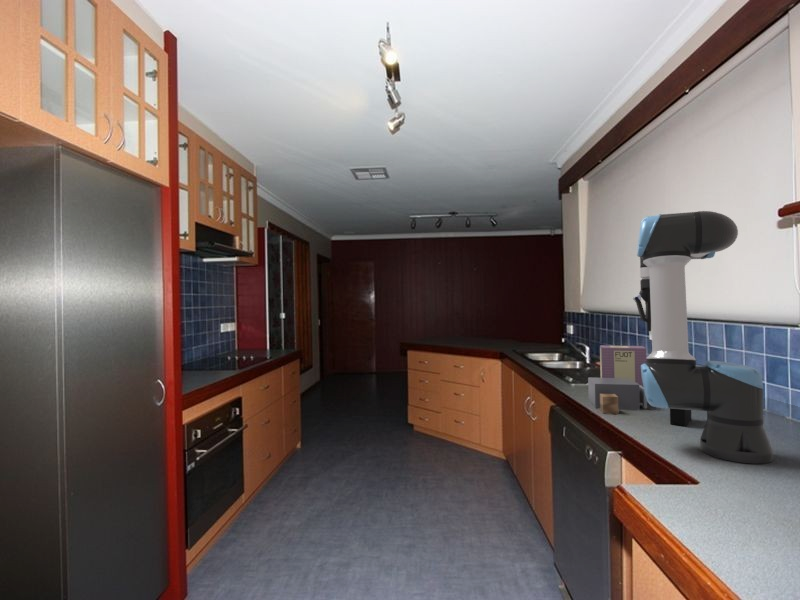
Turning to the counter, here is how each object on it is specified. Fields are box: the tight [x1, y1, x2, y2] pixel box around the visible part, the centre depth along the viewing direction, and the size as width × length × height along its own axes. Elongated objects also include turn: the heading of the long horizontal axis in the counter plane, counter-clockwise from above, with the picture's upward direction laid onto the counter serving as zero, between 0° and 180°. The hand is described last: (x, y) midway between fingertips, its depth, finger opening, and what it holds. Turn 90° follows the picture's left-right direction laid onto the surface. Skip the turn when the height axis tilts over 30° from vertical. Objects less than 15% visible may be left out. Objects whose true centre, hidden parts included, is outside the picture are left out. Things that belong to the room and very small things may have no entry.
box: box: [599, 344, 647, 387], centre depth 188 cm, size 17×9×20 cm, turn 69°
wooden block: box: [599, 394, 619, 415], centre depth 158 cm, size 5×5×6 cm
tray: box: [637, 383, 648, 410], centre depth 169 cm, size 17×14×7 cm
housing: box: [587, 377, 641, 411], centre depth 169 cm, size 15×14×9 cm
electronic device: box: [669, 408, 692, 427], centre depth 143 cm, size 4×10×10 cm, turn 137°
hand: (652, 339), depth 170 cm, fingers closed
